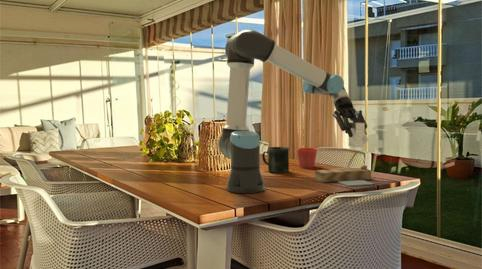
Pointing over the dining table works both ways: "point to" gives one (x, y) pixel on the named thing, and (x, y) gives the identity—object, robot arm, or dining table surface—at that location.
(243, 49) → the robot arm
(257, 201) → the dining table surface
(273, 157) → the mug
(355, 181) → the mat
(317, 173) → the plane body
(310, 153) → the flower pot
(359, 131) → the white rectangular block
